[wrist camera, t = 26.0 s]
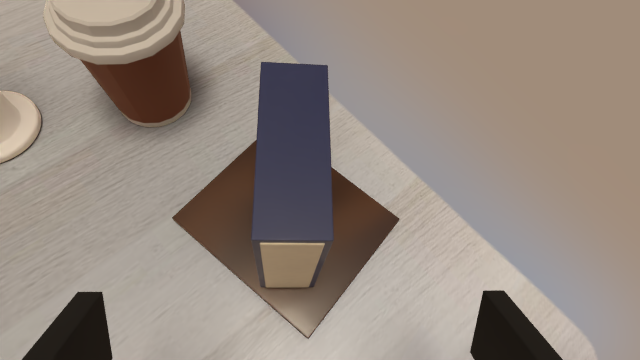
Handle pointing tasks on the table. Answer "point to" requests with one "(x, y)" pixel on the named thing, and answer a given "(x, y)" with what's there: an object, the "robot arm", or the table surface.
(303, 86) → the small book
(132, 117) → the coffee cup
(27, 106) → the candle
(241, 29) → the table surface
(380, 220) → the placemat
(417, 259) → the table surface
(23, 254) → the table surface
